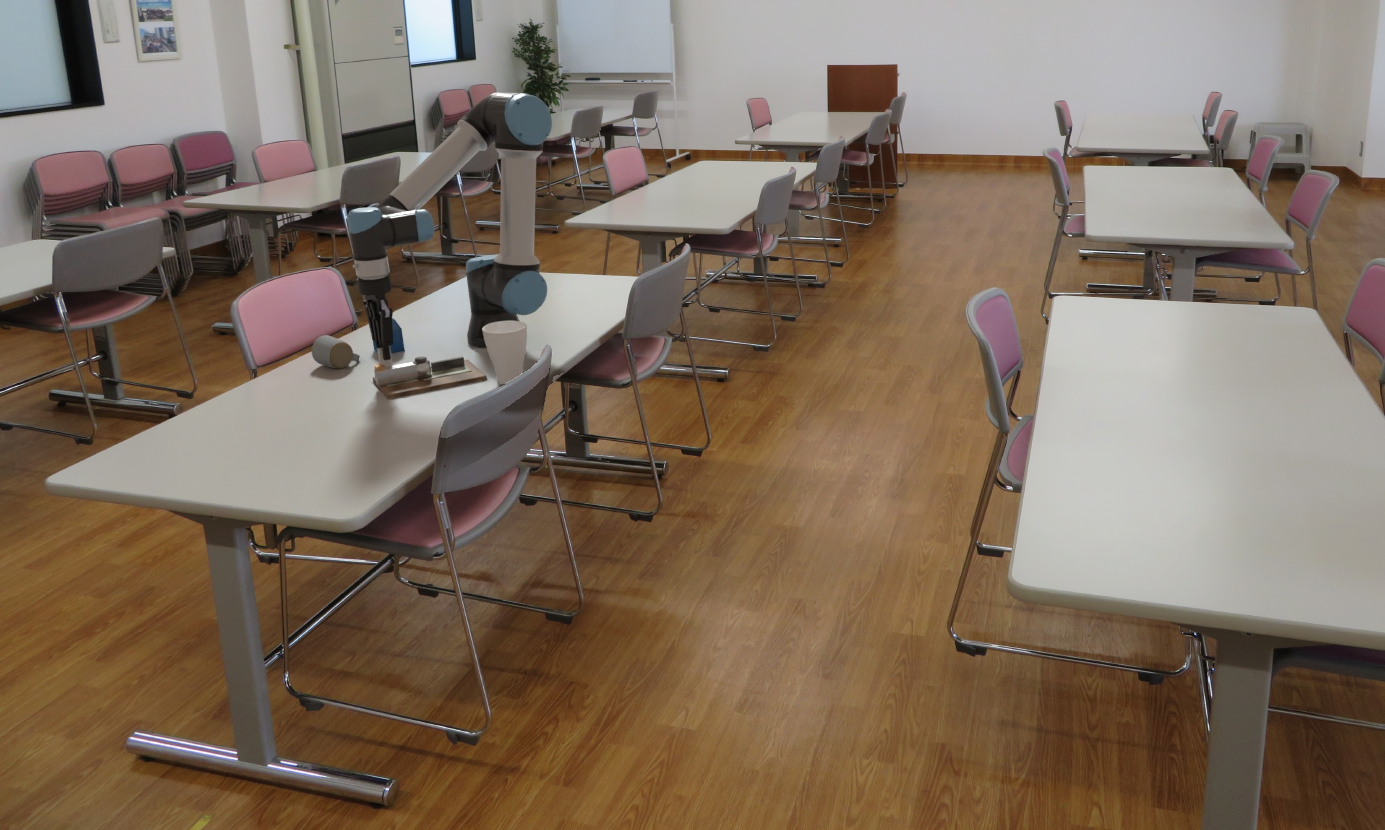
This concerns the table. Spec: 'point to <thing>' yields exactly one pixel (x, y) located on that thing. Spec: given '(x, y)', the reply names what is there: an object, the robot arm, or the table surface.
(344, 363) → the ceramic mug
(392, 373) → the swing bar
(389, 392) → the lock board
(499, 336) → the cup
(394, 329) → the perfume bottle
